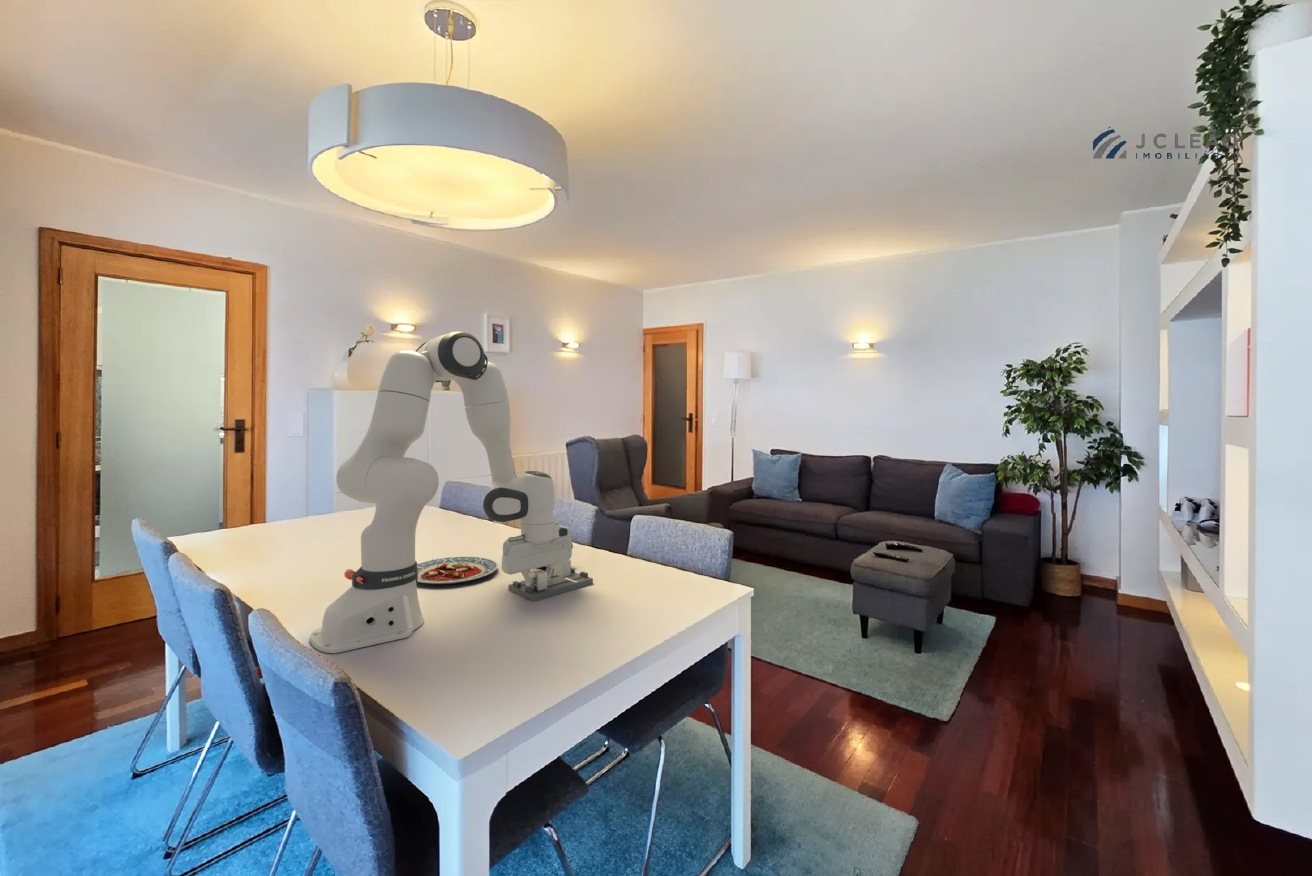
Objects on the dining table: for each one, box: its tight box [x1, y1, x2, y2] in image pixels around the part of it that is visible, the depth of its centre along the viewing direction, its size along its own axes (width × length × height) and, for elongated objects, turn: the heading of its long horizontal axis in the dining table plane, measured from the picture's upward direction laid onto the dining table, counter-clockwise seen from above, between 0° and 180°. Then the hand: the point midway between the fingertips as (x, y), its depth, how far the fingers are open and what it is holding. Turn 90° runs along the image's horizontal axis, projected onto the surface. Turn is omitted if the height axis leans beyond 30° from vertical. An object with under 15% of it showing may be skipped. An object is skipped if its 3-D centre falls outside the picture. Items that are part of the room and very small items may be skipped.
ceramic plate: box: [417, 556, 499, 585], centre depth 163 cm, size 26×26×3 cm
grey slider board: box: [507, 559, 594, 602], centre depth 153 cm, size 20×12×6 cm, turn 137°
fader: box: [529, 569, 547, 591], centre depth 146 cm, size 3×4×5 cm
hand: (538, 583), depth 146 cm, fingers open, 4 cm apart
